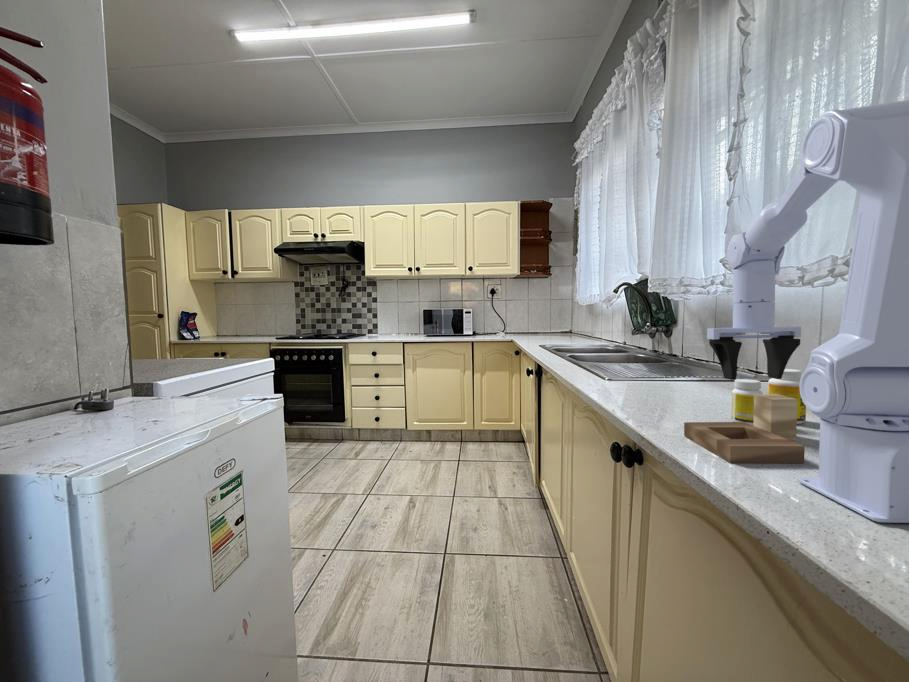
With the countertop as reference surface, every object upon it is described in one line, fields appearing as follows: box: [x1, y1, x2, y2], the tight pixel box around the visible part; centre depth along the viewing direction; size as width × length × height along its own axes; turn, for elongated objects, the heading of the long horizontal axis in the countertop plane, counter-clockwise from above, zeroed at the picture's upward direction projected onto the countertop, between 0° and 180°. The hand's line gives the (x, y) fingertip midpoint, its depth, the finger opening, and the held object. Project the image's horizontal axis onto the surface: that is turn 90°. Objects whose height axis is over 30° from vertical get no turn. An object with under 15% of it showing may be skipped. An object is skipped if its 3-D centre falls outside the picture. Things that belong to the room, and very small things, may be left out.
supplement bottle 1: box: [731, 378, 764, 425], centre depth 70 cm, size 5×5×8 cm
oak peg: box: [753, 393, 798, 441], centre depth 62 cm, size 4×4×7 cm
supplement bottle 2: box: [767, 368, 807, 425], centre depth 70 cm, size 6×6×10 cm
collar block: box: [683, 421, 806, 464], centre depth 57 cm, size 12×10×2 cm
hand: (752, 378), depth 64 cm, fingers open, 7 cm apart
